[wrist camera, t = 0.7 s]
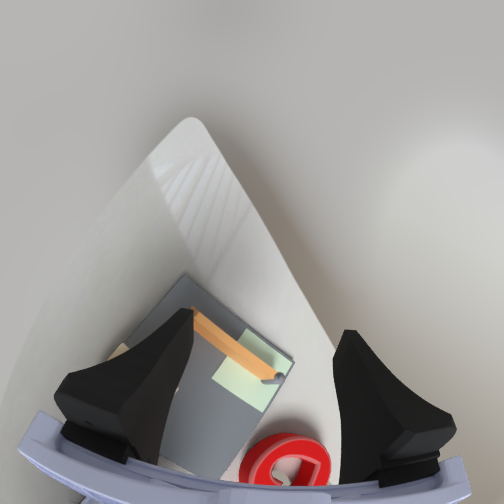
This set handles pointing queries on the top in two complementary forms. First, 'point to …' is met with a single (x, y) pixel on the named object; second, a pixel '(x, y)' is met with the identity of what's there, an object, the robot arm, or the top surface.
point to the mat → (203, 390)
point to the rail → (235, 350)
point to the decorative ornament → (281, 446)
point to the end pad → (246, 382)
